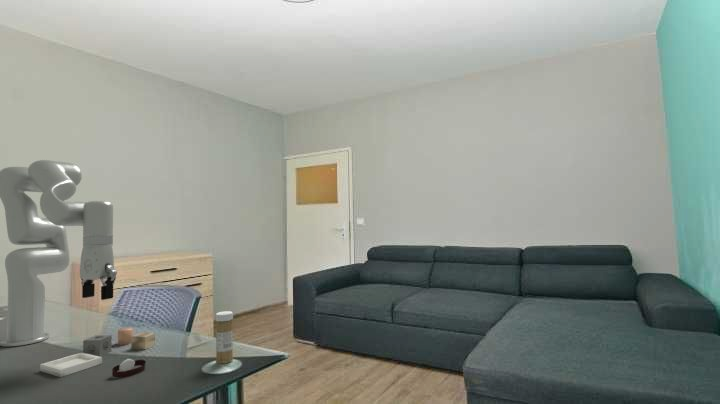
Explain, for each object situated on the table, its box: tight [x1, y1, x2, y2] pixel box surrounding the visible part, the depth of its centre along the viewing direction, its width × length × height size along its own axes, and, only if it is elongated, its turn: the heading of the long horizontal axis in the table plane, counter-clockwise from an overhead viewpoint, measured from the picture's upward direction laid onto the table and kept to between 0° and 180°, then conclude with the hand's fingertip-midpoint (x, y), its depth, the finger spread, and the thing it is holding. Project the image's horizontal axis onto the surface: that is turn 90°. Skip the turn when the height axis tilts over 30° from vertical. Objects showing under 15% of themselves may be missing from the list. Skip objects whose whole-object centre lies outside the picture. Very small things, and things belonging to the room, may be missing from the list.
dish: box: [39, 352, 103, 378], centre depth 102 cm, size 10×10×2 cm
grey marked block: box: [82, 334, 113, 357], centre depth 113 cm, size 5×5×5 cm
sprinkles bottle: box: [215, 310, 234, 365], centre depth 105 cm, size 5×5×14 cm
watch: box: [111, 358, 147, 379], centre depth 98 cm, size 8×5×4 cm, turn 141°
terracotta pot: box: [117, 326, 134, 346], centre depth 124 cm, size 4×4×4 cm
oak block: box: [130, 332, 156, 350], centre depth 119 cm, size 5×4×4 cm
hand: (97, 298), depth 114 cm, fingers open, 9 cm apart
